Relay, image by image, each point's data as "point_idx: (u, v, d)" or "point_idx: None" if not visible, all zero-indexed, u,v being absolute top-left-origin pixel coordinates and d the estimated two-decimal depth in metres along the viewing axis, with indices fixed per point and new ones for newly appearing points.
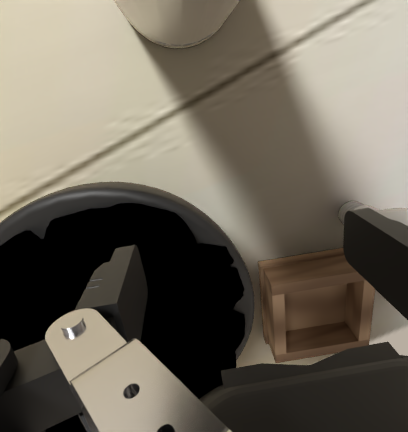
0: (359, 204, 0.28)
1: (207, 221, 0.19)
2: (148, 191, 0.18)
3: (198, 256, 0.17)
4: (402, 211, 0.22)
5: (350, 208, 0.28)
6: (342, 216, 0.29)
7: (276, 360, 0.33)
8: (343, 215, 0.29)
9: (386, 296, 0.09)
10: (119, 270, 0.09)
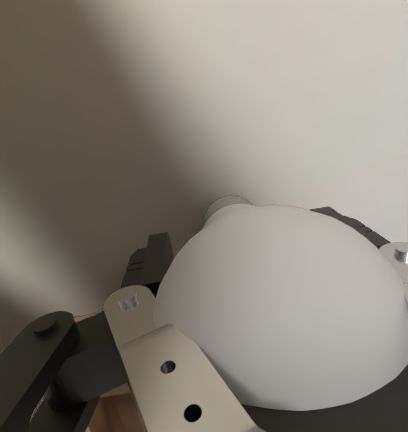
0: (234, 202, 0.13)
1: None
2: None
3: None
4: (262, 215, 0.06)
5: (214, 211, 0.13)
6: None
7: None
8: None
9: None
10: (158, 254, 0.10)
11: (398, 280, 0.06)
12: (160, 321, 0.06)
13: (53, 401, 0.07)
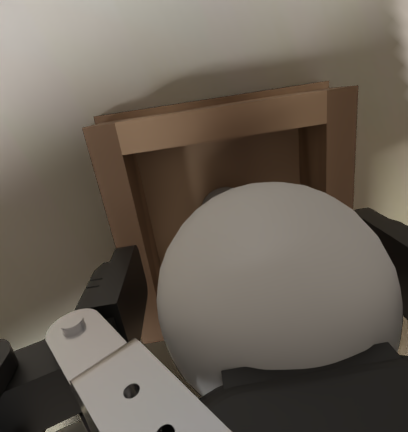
0: None
1: None
2: None
3: None
4: (264, 185, 0.07)
5: (211, 199, 0.13)
6: None
7: None
8: None
9: None
10: (119, 270, 0.09)
11: (380, 243, 0.07)
12: (170, 275, 0.07)
13: None
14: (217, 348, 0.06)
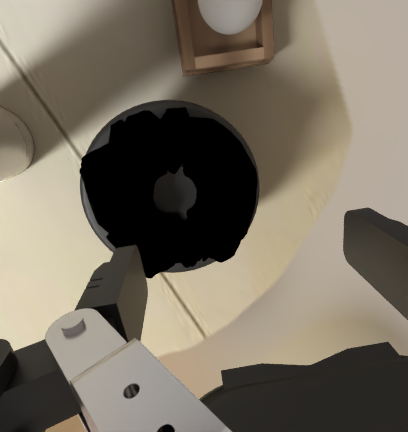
0: None
1: (95, 137, 0.31)
2: None
3: (102, 147, 0.29)
4: None
5: None
6: None
7: (271, 56, 0.35)
8: None
9: (386, 296, 0.09)
10: (119, 270, 0.09)
11: None
12: None
13: None
14: None
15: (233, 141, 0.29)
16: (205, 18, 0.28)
